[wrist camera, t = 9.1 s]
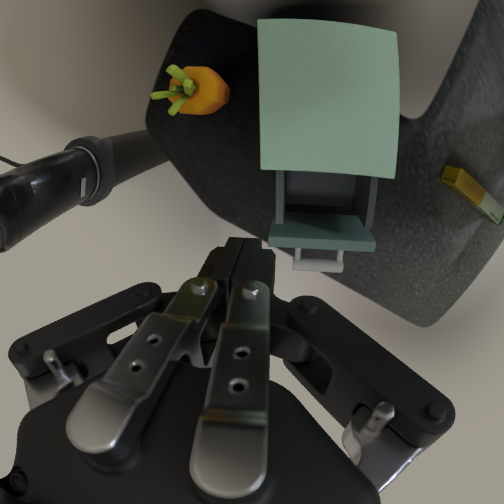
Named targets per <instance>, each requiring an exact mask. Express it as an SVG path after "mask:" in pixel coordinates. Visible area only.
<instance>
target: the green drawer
mask: <svg viewBox="0 0 504 504" xmlns="http://www.w3.org/2000/svg"><path fill="white" fill-rule="evenodd" d="M377 187H378V177H373V176H364V175H353V174H341V173H328V172H312V171H291V170H276V208H275V211H274V213H273V218H272V222H271V227H270V231H269V235H268V246H269V247H287V248H295V258H293V270H299V271H300V270H301V271H319V272H340V273H342V271H343V260H342V257H343V250H344V251H362V252H374V251H375V246H376V241H375V240H374V238H373V236H372V234H371V232H370V231H369V229H372V224H373V217H374V210H375V203H376V195H377ZM285 204H296V205H315V206H332V207H347V208H354V210H355V212H356V214H357V216H355V215H341V214H325V213H307V212H286V211H285ZM301 248H306V249H325V250H338V252H337V260H332V259H312V258H300V252H301Z"/></svg>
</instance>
